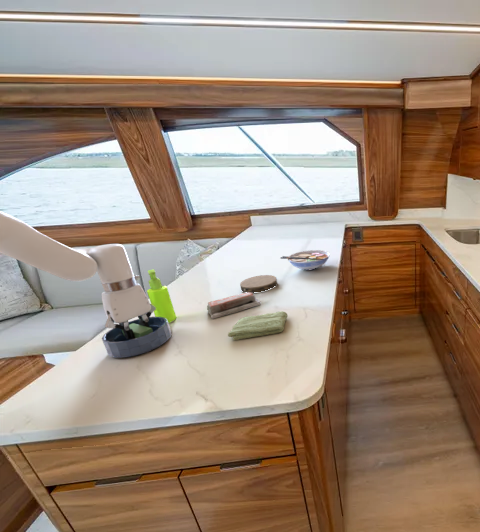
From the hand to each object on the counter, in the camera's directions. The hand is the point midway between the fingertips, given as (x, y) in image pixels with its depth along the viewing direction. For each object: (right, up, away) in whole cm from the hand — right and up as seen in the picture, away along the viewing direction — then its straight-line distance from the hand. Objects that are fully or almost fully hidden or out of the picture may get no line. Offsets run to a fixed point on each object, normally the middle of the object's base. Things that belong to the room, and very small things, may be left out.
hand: (138, 335), depth 97 cm
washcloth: (+36, 0, +9) cm, 37 cm away
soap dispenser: (-4, +2, +17) cm, 18 cm away
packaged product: (+18, +5, +25) cm, 31 cm away
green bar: (0, 0, 0) cm, 0 cm away
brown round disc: (+18, +13, +46) cm, 51 cm away
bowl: (0, -3, +1) cm, 3 cm away
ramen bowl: (+35, +22, +70) cm, 82 cm away
